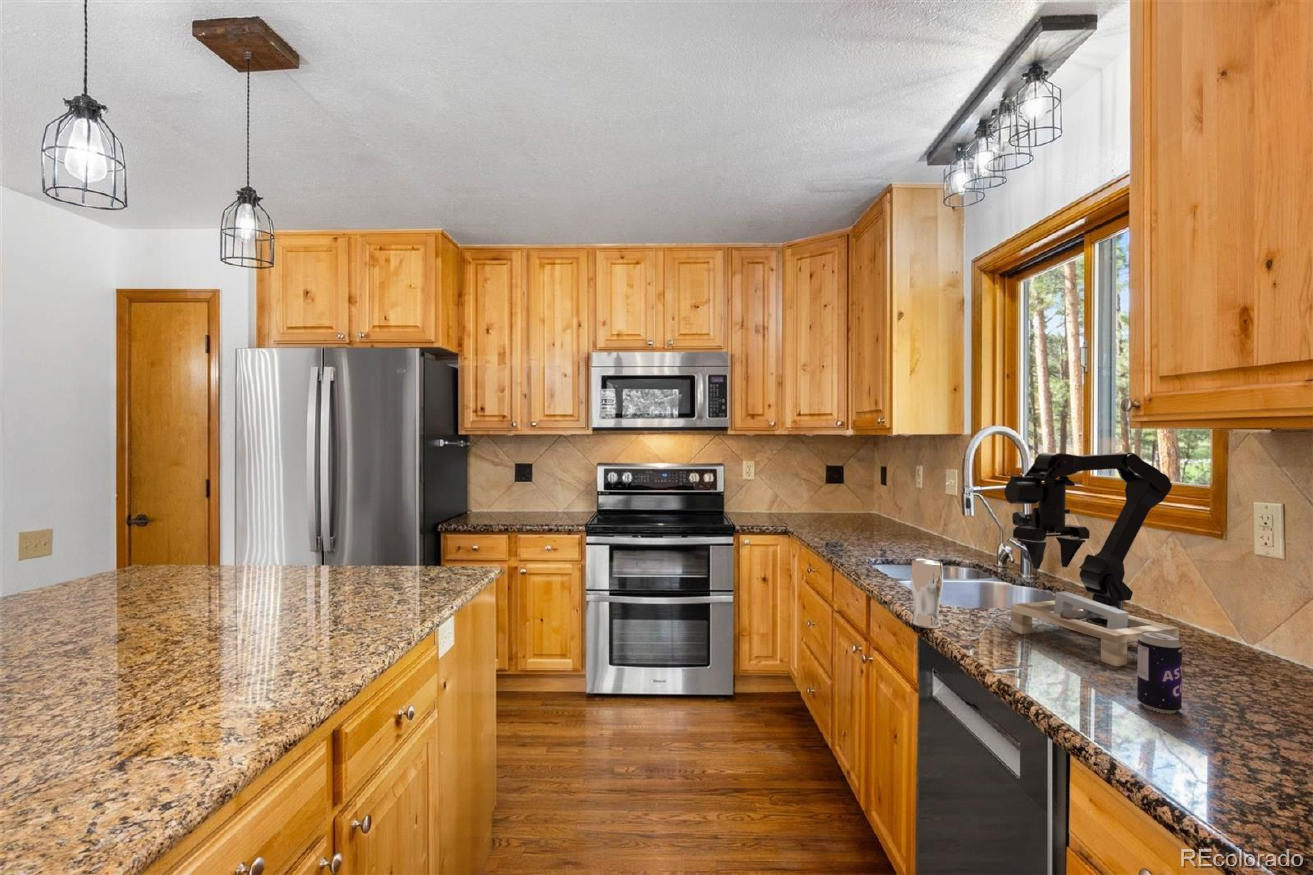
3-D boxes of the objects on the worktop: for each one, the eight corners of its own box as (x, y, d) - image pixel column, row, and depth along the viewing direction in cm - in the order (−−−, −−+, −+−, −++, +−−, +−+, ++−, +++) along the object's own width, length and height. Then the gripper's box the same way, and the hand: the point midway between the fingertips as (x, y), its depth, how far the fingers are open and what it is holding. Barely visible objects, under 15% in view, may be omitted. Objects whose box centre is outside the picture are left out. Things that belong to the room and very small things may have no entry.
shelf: (1067, 624, 151) (1068, 599, 151) (1178, 657, 128) (1178, 628, 128) (1010, 630, 145) (1010, 604, 145) (1116, 666, 122) (1116, 635, 122)
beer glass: (911, 627, 146) (912, 563, 146) (909, 619, 153) (910, 557, 153) (944, 630, 144) (945, 565, 144) (940, 622, 151) (941, 559, 151)
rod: (1109, 614, 140) (1109, 605, 140) (1118, 616, 138) (1118, 607, 138) (1060, 619, 135) (1060, 609, 135) (1068, 621, 133) (1068, 612, 133)
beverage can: (1164, 717, 99) (1165, 642, 99) (1128, 703, 105) (1129, 631, 105) (1190, 713, 101) (1191, 639, 101) (1153, 699, 106) (1154, 629, 106)
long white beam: (1063, 614, 144) (1065, 591, 144) (1125, 638, 131) (1128, 612, 130) (1053, 615, 143) (1055, 592, 143) (1115, 639, 130) (1118, 613, 129)
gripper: (1049, 500, 164) (1048, 560, 164) (994, 501, 158) (993, 563, 158) (1091, 504, 153) (1090, 568, 153) (1034, 506, 147) (1033, 572, 147)
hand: (1050, 568), depth 153 cm, fingers open, 9 cm apart
